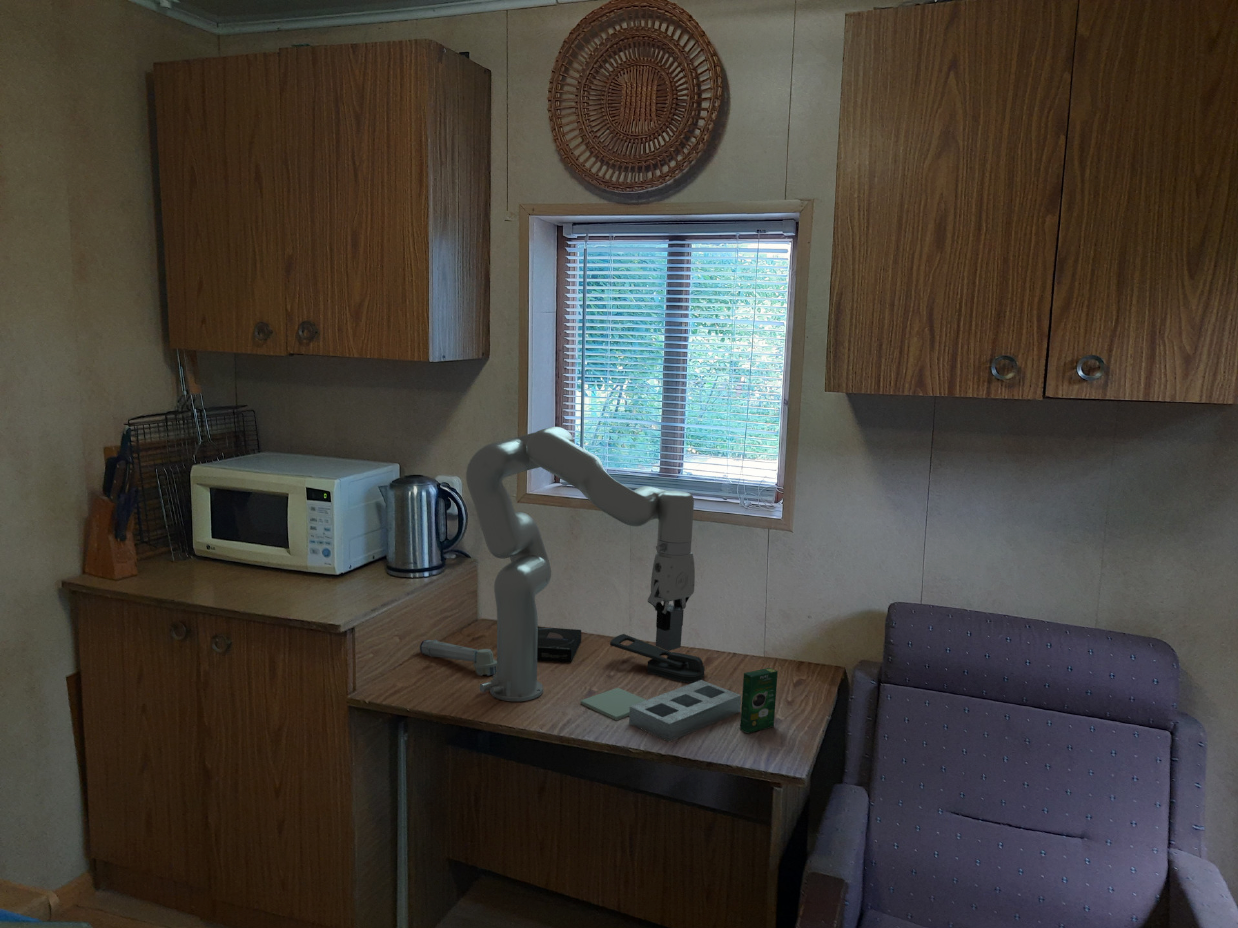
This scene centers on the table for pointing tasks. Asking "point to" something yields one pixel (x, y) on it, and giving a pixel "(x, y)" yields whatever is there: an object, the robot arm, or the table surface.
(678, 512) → the robot arm
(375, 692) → the table surface
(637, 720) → the block with square holes
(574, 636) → the portable cd player
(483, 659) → the grey long angled piece
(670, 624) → the square insert
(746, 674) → the coffee box
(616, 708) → the mat
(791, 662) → the table surface
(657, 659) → the zipper pull
